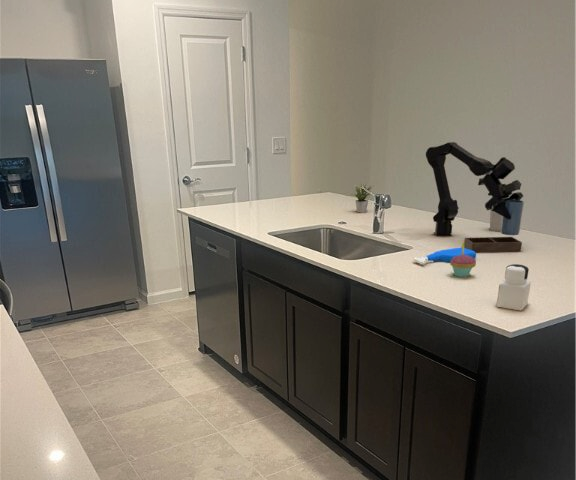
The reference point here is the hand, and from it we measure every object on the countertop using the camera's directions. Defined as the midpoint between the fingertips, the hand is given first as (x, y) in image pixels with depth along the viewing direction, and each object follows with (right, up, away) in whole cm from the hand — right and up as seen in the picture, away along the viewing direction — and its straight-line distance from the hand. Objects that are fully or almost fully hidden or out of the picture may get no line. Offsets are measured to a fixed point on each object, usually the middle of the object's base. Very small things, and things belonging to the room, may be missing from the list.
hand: (515, 217), depth 220 cm
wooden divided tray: (-8, -12, +4) cm, 15 cm away
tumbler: (-1, -6, +4) cm, 7 cm away
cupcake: (-31, -27, -29) cm, 50 cm away
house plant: (-49, +22, +88) cm, 103 cm away
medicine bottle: (-25, -39, -59) cm, 75 cm away
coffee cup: (+7, +2, +38) cm, 39 cm away
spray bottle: (-32, -19, -11) cm, 39 cm away
